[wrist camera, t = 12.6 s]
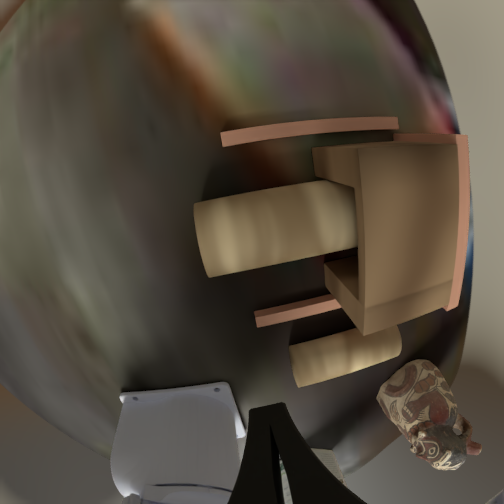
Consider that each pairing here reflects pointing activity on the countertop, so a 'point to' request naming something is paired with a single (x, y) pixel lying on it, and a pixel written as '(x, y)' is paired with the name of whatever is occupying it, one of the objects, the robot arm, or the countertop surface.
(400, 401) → the figurine
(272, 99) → the countertop surface
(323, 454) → the syrup box
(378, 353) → the short dowel
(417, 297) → the block
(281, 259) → the dowel
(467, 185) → the end wall and guide rails
